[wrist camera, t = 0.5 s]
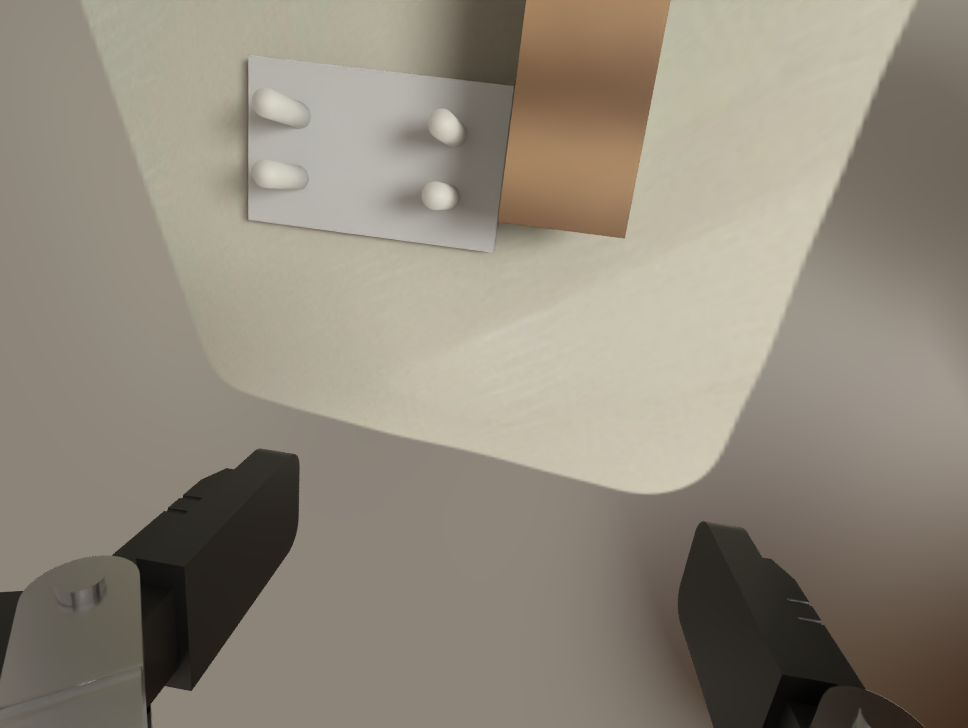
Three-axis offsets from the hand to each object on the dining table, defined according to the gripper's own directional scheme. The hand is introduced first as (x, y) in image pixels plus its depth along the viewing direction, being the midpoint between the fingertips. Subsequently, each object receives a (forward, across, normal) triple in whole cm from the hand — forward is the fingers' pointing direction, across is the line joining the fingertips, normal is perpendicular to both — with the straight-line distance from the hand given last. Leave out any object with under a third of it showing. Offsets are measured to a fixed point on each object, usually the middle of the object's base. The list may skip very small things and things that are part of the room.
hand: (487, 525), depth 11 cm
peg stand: (+24, +10, -7) cm, 27 cm away
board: (+21, -1, -11) cm, 23 cm away
